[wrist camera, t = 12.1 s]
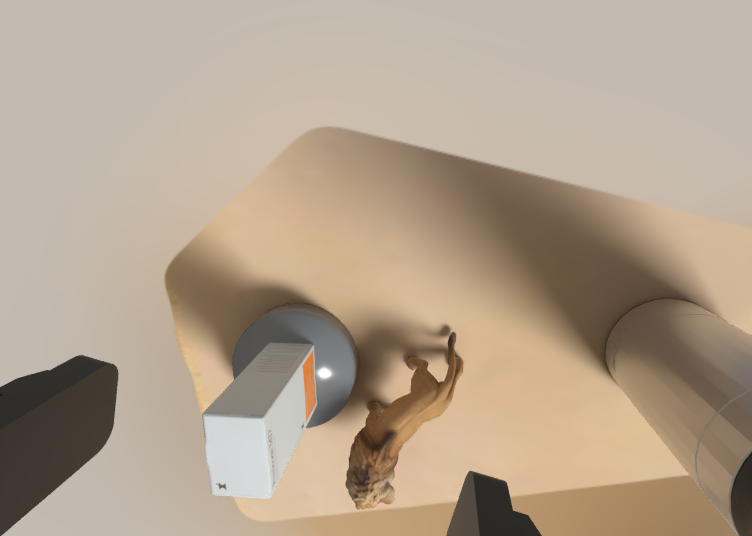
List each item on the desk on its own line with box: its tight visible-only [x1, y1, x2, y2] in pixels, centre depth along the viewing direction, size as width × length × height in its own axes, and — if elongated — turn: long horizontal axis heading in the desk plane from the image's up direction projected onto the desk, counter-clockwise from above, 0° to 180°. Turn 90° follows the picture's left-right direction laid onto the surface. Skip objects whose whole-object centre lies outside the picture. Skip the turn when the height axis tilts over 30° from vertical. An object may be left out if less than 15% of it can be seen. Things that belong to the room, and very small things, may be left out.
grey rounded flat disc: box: [232, 303, 359, 428], centre depth 41 cm, size 11×11×3 cm
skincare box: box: [202, 342, 317, 499], centre depth 34 cm, size 6×4×12 cm
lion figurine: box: [345, 332, 463, 510], centre depth 38 cm, size 15×5×9 cm, turn 150°
